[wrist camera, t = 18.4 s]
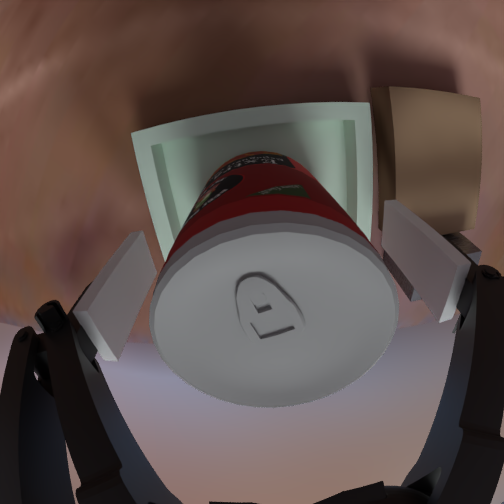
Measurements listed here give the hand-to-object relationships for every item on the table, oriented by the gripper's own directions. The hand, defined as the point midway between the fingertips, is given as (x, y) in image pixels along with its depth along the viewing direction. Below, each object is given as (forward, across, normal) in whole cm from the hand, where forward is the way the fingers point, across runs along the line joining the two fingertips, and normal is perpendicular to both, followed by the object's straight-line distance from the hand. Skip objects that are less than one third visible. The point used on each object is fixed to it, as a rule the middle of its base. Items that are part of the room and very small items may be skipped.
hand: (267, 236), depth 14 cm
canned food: (+4, 0, 0) cm, 4 cm away
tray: (+4, 0, 0) cm, 4 cm away
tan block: (+5, +12, +3) cm, 13 cm away
